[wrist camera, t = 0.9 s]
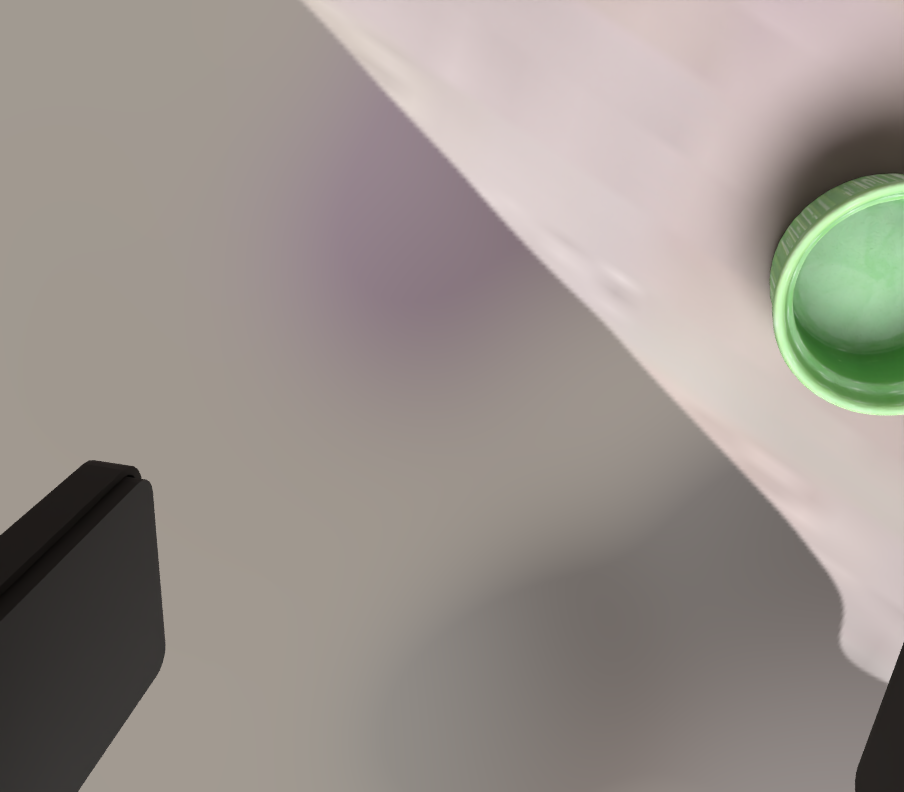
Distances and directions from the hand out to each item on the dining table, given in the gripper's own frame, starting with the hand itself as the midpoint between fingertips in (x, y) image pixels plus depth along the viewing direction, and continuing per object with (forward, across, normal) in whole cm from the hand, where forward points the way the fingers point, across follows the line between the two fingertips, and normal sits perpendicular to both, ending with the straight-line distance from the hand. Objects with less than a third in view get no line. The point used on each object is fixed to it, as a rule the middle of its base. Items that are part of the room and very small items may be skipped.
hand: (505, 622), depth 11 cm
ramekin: (+28, -12, +2) cm, 31 cm away
